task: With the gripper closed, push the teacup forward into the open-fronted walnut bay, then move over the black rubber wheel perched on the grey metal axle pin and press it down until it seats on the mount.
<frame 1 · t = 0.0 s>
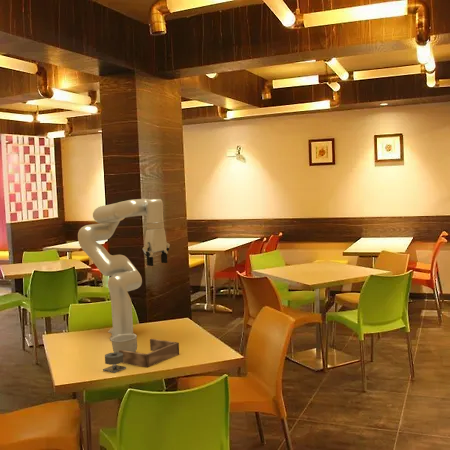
hand: (157, 264, 266), 37 cm above the table, tool pointing down, fingers open, 9 cm apart
axle mount: (114, 369, 234), on the table
wheel: (114, 358, 233), point 5 cm above the table, slide at 2.5 cm
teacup: (124, 354, 255), on the table
bay: (148, 358, 247), on the table
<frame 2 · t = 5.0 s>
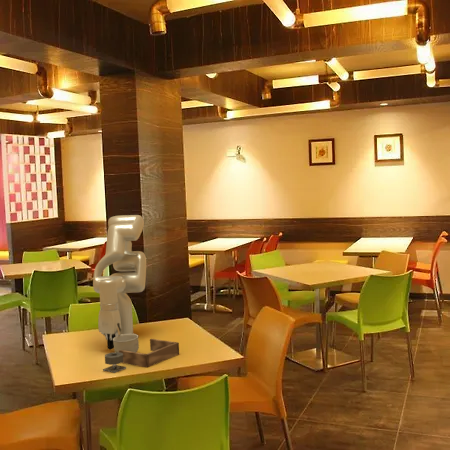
hand: (111, 348, 259), 2 cm above the table, tool pointing down, fingers closed
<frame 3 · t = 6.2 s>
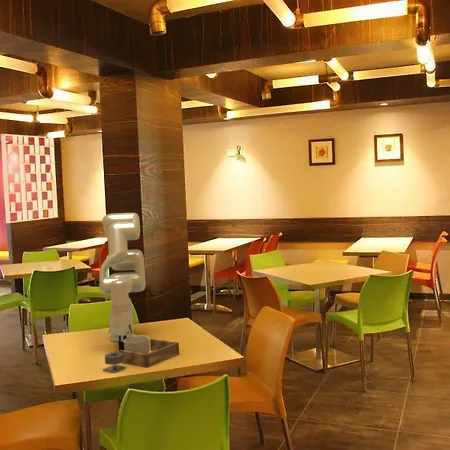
hand: (122, 350, 256), 2 cm above the table, tool pointing down, fingers closed
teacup: (137, 356, 251), on the table, touching gripper
everything else where it was.
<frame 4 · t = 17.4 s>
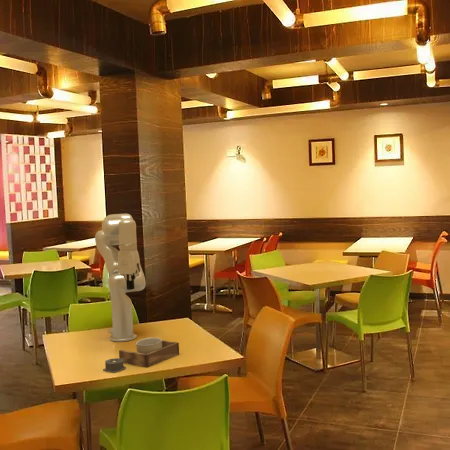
hand: (130, 289, 260), 27 cm above the table, tool pointing down, fingers closed
wheel: (114, 364, 234), point 2 cm above the table, slide at 0.0 cm
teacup: (150, 358, 247), on the table
at the end: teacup inside the target area on the bay (0.6 cm from its centre), point 0.0 cm above the bay's base; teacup tilted 0°; wheel slide at 0.0 cm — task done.
